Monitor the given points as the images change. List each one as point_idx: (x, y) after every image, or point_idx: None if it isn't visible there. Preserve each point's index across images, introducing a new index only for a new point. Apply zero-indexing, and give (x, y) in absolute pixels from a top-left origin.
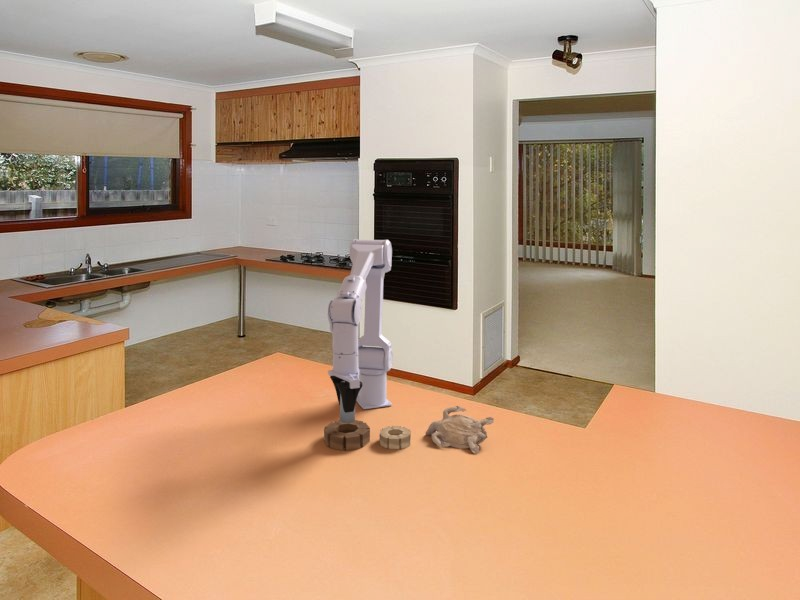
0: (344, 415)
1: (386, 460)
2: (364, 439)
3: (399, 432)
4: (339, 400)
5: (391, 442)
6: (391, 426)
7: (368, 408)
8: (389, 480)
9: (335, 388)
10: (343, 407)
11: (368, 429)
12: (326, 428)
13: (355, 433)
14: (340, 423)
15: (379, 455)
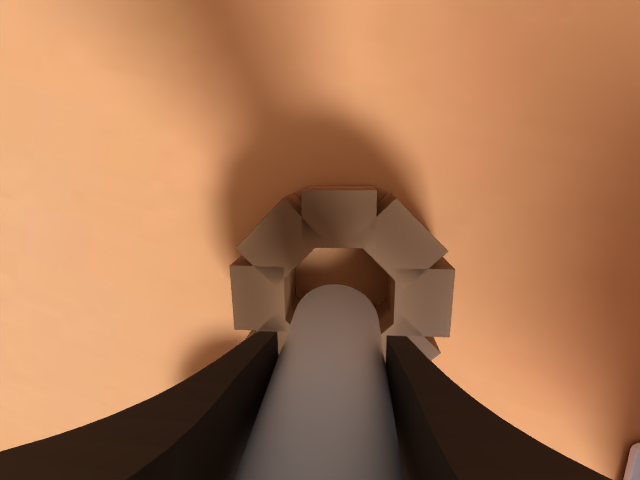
0: (294, 319)
1: (136, 354)
2: None
3: None
4: (394, 358)
5: None
6: None
7: (627, 463)
8: (5, 314)
9: (475, 415)
10: (248, 342)
11: None
12: (375, 203)
13: (264, 318)
14: (410, 288)
15: (178, 346)
